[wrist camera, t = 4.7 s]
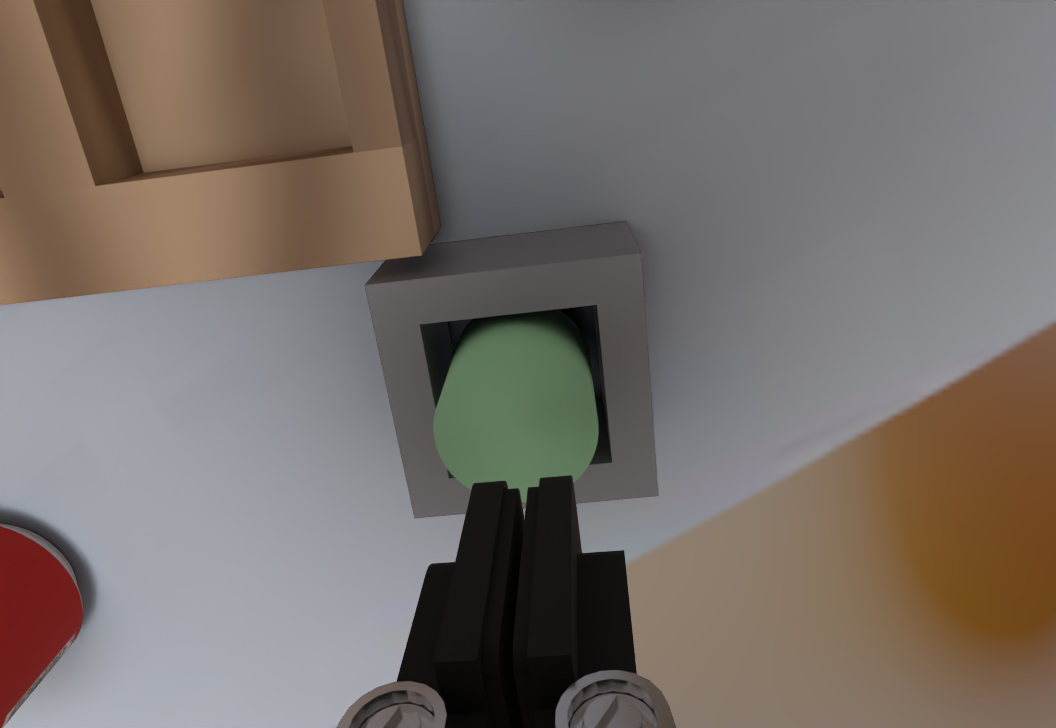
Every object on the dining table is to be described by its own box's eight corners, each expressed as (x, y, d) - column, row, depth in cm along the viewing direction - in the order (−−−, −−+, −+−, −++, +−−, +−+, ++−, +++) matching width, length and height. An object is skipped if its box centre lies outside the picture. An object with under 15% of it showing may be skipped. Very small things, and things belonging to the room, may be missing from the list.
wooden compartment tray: (357, -268, 18) (313, -342, 15) (440, 226, 22) (421, 255, 19) (-324, -151, 19) (-506, -195, 16) (-118, 293, 24) (-227, 332, 20)
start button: (582, 291, 21) (590, 346, 17) (595, 417, 23) (605, 495, 19) (444, 307, 22) (419, 364, 18) (465, 430, 23) (447, 509, 19)
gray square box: (626, 221, 22) (641, 253, 19) (642, 431, 25) (658, 495, 21) (394, 248, 23) (364, 285, 19) (434, 451, 25) (414, 518, 22)
